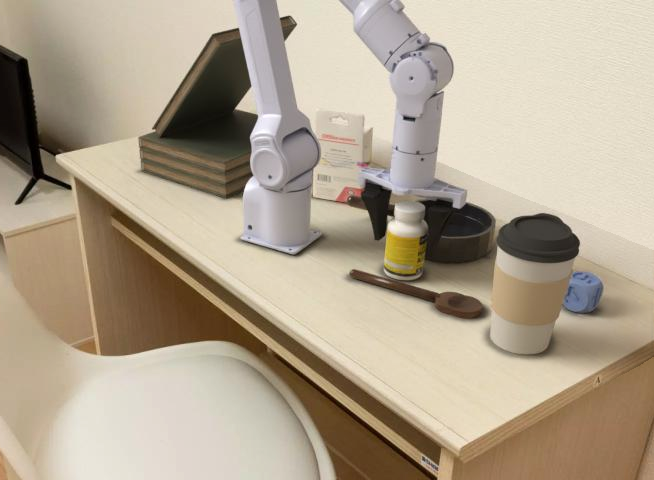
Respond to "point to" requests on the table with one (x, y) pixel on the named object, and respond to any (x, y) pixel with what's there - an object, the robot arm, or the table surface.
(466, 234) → the frying pan
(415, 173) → the robot arm
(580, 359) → the table surface
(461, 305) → the walnut spoon
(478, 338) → the table surface
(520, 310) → the coffee cup
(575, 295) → the decorative dice
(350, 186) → the ink cartridge box
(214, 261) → the table surface
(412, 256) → the supplement bottle
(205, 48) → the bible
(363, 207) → the pan handle
